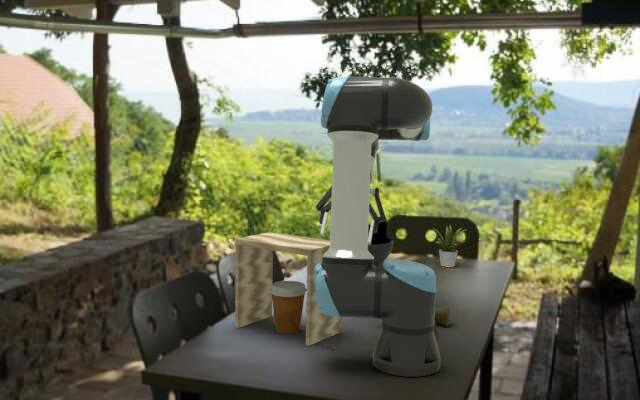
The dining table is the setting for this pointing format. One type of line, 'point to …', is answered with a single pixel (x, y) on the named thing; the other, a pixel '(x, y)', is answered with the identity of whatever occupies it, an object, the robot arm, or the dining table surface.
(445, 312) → the kendama
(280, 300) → the disposable coffee cup
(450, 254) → the house plant
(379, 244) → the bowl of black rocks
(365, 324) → the dining table surface
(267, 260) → the plywood stool
